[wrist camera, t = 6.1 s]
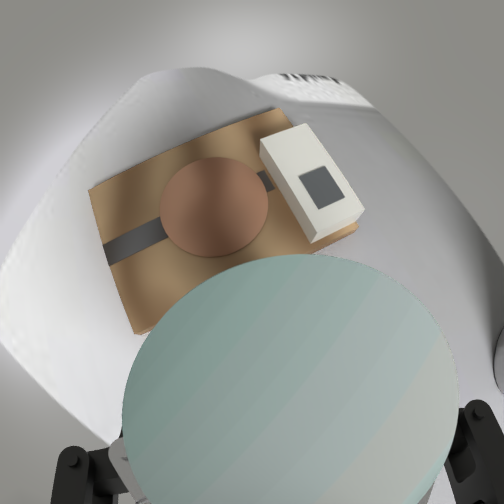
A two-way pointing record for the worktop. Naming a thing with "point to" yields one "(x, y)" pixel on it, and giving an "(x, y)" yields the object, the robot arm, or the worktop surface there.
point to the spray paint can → (292, 390)
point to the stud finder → (310, 182)
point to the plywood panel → (196, 217)
